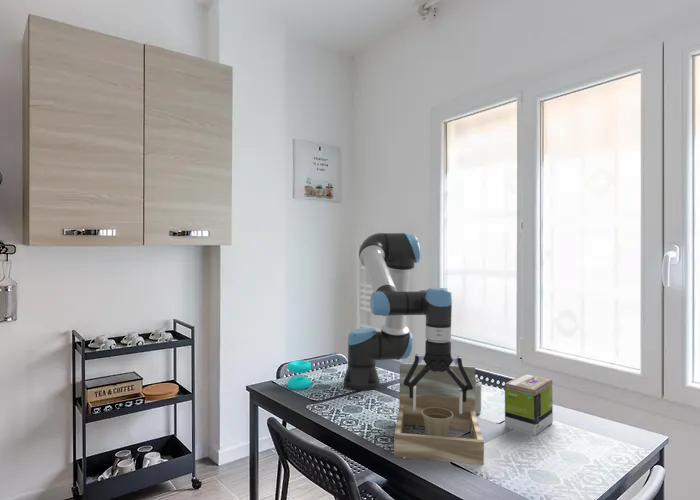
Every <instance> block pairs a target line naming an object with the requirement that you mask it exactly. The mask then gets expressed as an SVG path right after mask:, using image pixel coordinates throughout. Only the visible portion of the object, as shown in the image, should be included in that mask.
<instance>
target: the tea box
mask: <svg viewBox="0 0 700 500" xmlns="http://www.w3.org/2000/svg"><path fill="white" fill-rule="evenodd" d="M553 402H554V401H553V379H552V378H551V379H550V378H546V377H541V376H536V375H531V374H527V373H523V374H521V375H519V376H517V377H515V378H513V379H511V380H509V381H507V382H505V383H504V427H505V428H507V429H511V430H514V431H516V430H517V431H516V432H520V433H524V434H526V433H527V434H526V435H529V436H536V435H537V434H538V433H540V432H541V431H543V430H544V429H545V428H547V427H548V426H550V425H552V423H553V422H554V421H553V420H554V417H553V415H554V413H553V410H554V409H553Z"/></svg>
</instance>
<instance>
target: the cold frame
mask: <svg viewBox="0 0 700 500" xmlns="http://www.w3.org/2000/svg"><path fill="white" fill-rule="evenodd" d="M413 363H414V362H413ZM413 363H412V362H399V394H398V395H399V399H398V400H399V401H398V402H399V405H398V411H397V418H396V423H395V427H394V428H395V430H394V435H393V436H394V437H393V439H394V440H393V441H394V446H393V448H394V449H393V454H394V455H393V457H399V458H408V459H418V460H419V459H420V460H429V461H443V462H450V463H451V462H452V463H462V464H463V463H464V464H473V465H474V464H475V465H484V464H485V442H484V438H483V434H482V430H481V428H480V427H481V426H480V424H479V420H478V418H477V415H476V413H475V377H476V366H474V365H473V366H470V365H469V366H468V365H463V367H464V369H465V371H466V373H467V375H468V378H469V380H470V382H471V384H472V386H473V389H472V390H467V392H466V402H462V414H460V413H459V389H461V388H460V387H459V385H458V384H457V383H456V382H455V381H454V379H453V378H452V377H451V376H450V374H448V372H447V371H443V372H439V371H436V372H434V371H432V370H429V371H428V372H427V373H426V374H425V375H424V376H423V377H422V378H421V379H420V381H419V382H418V383H417V384H416V385H415V386H416V410H413V398H410V397H409V387H408V386H405V385H404V380H405V378H406V376H407V374H408V372H409V370H410V368H411V366H412V365H413ZM425 365H426V363H418V365H417V367H416V369H415V371H414V373H413V375H412V377H411V379H410V382H411V381H412V380H413V379H414V378H415V377H416V376H417V374H418V373H419V372H420V371H421V370H422V369H423V368H424V366H425ZM450 367H451V369H452V370H453V371H454V372H455V374H456V375H457V376H458V377H459V379H460V380H461V381H462V382H463V384H464V385H467V384H466V382H465V380H464V378H463V375H462V373H461V371H460V369H459V367H458V365H456V364H455V365H453V364H452V365H451V364H450ZM429 407H439V408H444V409H447V410H450V411H451V412H452V413H453V417H452V420H451V422H450V427H449V429H455V430H456V429H458V430H469V432H470V436H471V438H465V437H454V436H452V437H451V436H448V437H442V436H430V435H426V434H416V433H404V425H407V426H418V427H420V426H421V427H425V423H424V419H423V415H422V413H421V411H422V410H423V409H425V408H429Z"/></svg>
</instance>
